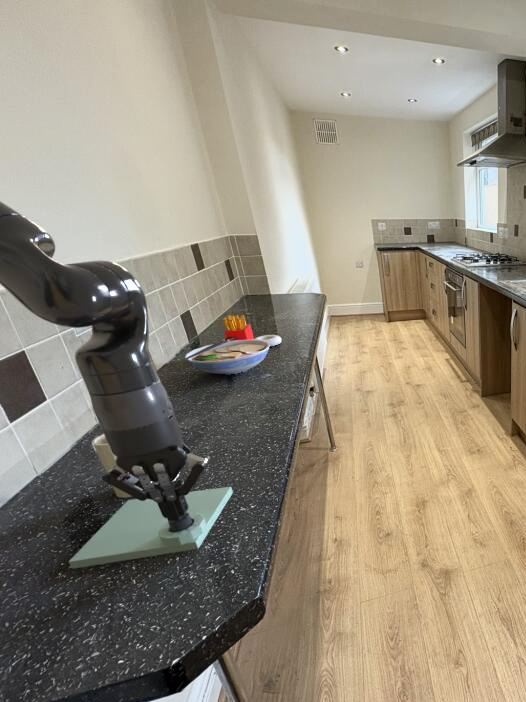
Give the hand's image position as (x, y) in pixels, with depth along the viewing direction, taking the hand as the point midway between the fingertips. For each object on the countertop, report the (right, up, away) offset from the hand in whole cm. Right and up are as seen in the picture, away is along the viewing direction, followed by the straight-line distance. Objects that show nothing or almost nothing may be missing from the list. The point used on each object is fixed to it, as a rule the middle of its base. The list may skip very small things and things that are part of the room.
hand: (178, 516), depth 62 cm
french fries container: (-46, +31, +86) cm, 102 cm away
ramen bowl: (-39, +24, +71) cm, 84 cm away
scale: (-6, -3, +5) cm, 8 cm away
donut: (-44, +35, +96) cm, 111 cm away
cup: (-19, +1, +14) cm, 24 cm away
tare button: (0, -2, +1) cm, 2 cm away
